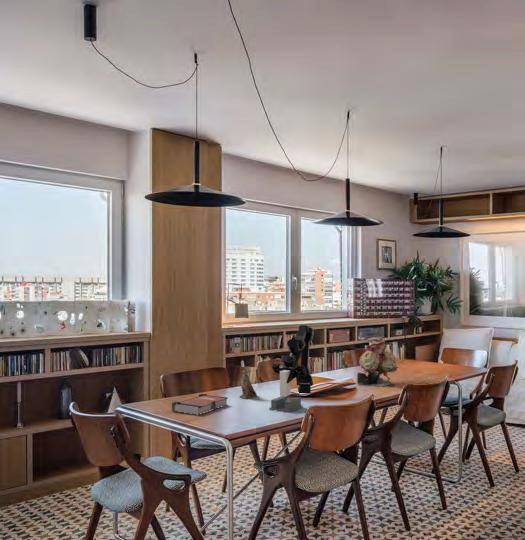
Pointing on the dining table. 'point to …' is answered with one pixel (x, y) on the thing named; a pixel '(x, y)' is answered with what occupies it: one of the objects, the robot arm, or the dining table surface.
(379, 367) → the rose bouquet
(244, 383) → the worn brown figurine
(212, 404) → the book
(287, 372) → the grey block
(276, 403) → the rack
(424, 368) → the dining table surface
